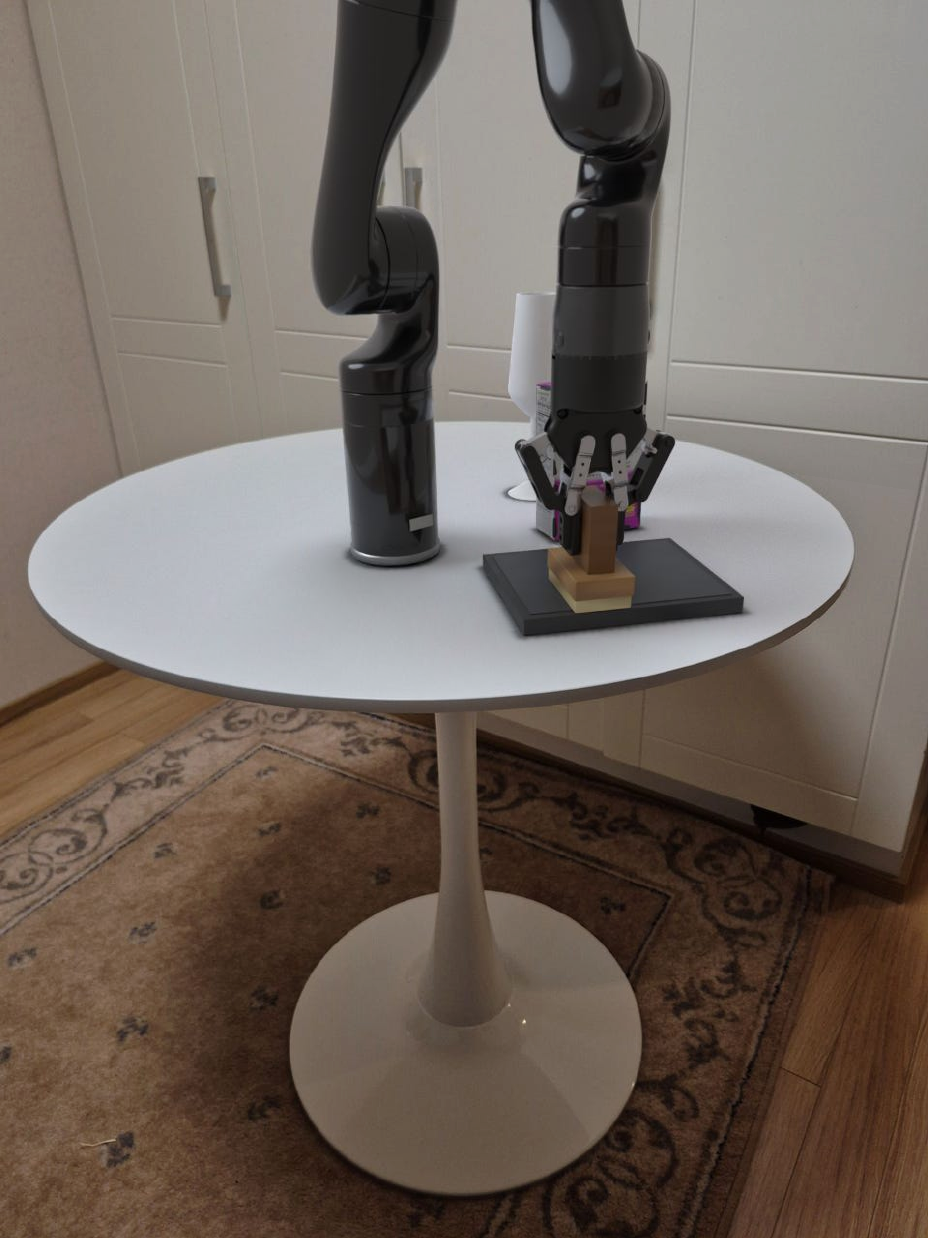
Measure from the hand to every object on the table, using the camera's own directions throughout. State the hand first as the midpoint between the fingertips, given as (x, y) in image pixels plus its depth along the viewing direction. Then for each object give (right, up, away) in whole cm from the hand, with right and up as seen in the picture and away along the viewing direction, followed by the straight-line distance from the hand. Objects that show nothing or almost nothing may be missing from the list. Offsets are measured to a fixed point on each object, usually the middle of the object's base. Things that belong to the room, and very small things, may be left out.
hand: (590, 550), depth 75 cm
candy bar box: (+3, +4, +22) cm, 23 cm away
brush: (0, -4, +2) cm, 4 cm away
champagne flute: (-2, +10, +35) cm, 37 cm away
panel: (+2, -3, +6) cm, 8 cm away
